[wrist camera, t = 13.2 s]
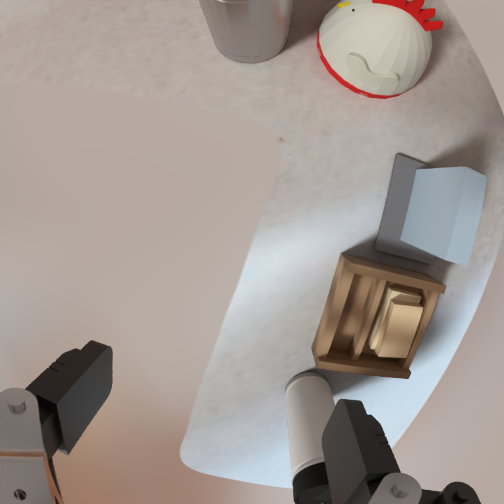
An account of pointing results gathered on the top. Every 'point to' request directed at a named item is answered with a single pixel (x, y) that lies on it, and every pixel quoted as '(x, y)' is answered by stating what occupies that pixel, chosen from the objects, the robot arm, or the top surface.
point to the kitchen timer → (377, 44)
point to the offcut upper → (398, 329)
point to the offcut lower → (389, 295)
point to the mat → (400, 212)
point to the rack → (367, 316)
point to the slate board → (445, 212)
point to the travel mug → (308, 436)
